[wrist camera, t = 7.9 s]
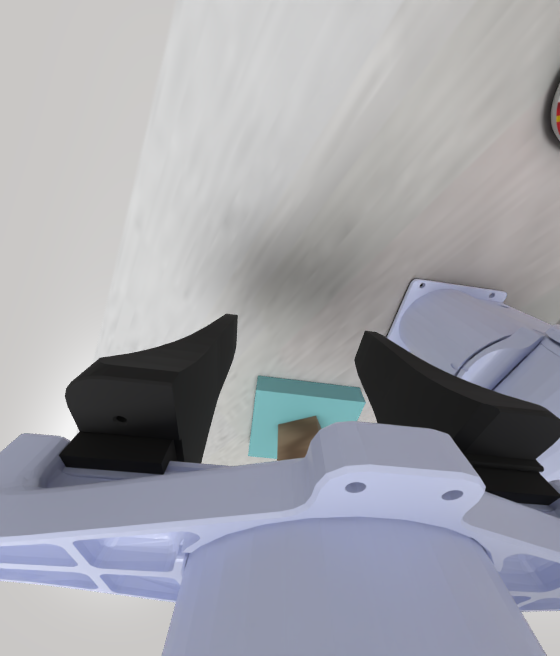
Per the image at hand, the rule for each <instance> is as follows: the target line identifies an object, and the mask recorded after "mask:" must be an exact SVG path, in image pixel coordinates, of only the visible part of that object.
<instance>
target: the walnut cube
mask: <svg viewBox="0 0 560 656" xmlns="http://www.w3.org/2000/svg"><path fill="white" fill-rule="evenodd" d="M319 430H321V426H320V424H319V422H318V419H317V417H316V416H312V417H308V418H304V419H299V420H295V421H291V422H287V423H282V424H278V447H277V461H281V460H289V459H297V458H304V457H305V456H306V454H307V451H308V448H309V445H310V442H311V440H312V439H313V438H314V437H315V435H316V434H317V433H318V431H319Z"/></svg>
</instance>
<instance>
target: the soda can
mask: <svg viewBox="0 0 560 656" xmlns="http://www.w3.org/2000/svg"><path fill="white" fill-rule="evenodd" d="M551 125H552V128H553V131H554V133H555V134H556V136H557V138H558V139H559V141H560V83H559V85H558V88H557V90H556V93H555V96H554V99H553V103H552V108H551Z"/></svg>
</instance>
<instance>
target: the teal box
mask: <svg viewBox="0 0 560 656" xmlns="http://www.w3.org/2000/svg"><path fill="white" fill-rule="evenodd" d="M365 403H366V402H365V400H364V397H363V395H362V393H361V390H360V388H358V387H349V386H341V385H333V384H324V383H316V382H307V381H299V380H291V379H282V378H274V377H265V376H258V381H257V387H256V395H255V403H254V412H253V420H252V428H251V437H250V445H249V453H248V456H253V457H264V458H274V459H277V447H278V424H282V423H287V422H291V421H295V420H299V419H304V418H308V417H312V416H316V417H317V419H318V422H319V424H320V426H321V429H322V428H324V427H327V426H329V425H331V424H333V423H335V422H346V421H357V420H358V418H359V416H360V414H361V411H362V409H363V407H364V405H365Z"/></svg>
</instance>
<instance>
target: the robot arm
mask: <svg viewBox="0 0 560 656" xmlns="http://www.w3.org/2000/svg"><path fill="white" fill-rule="evenodd" d="M422 283H423V285H422V286H421V287H420V284H422ZM491 293H492V294H491ZM490 294H491V295H490ZM489 295H490V296H489ZM506 297H507V293H506V292H503V291H499V290H492V289H485V288H478V287H472V286H465V285H458V284H451V283H444V282H437V281H430V280H423V279H414V280H413V281H412V282H411V283H410V285H409V288H408V290H407V292H406V295H405V297H404V299H403V301H402V304H401V306H400V308H399V311H398V313H397V315H396V317H395V320H394V322H393V324H392V327H391V329H390V331H389V333H388V336H387V338H386V337H384V336H383V335H381V334H379V333H377V332H371V331H365V332H364V335H363V338H362V340H361V343H360V346H359V349H358V351H357V354H356V357H355V359H354V360H355V365H356V369H357V373H358V376H359V378H360V380H361V383H362V385H363V388H364V390H365V392H366V394H367V397H368V399H369V401H370V404H371V406H372V408H373V411H374V413H375V416H376V419H377V423H369V422H358V421H346V422H335V423H333V424H331V425H329V426H327V427H324V428H322V429H321V430H319V431H318V433H317V434H316V435H315V437H314V438H313V439H312V440H311V442H310V445H309V448H308V451H307V454H306V456H305V457H304V458H297V459H289V460H281V461H272V462H264V463H256V464H247V465H239V466H224V465H212V464H201V462H202V457H203V453H204V449H205V445H206V441H207V437H208V433H209V429H210V426H211V422H212V418H213V414H214V411H215V407H216V404H217V400H218V397H219V394H220V391H221V389H222V386H223V384H224V381H225V379H226V376H227V374H228V372H229V369H230V366H231V364H232V361H233V358H234V354H235V350H236V341H237V318H238V315H232V314H225V315H224V316H222V317H220V318H219V319H217V320H216V321H214V322H213V323H211V324H210V325H208V326H206V327H204V328H203V329H201V330H199V331H197V332H195V333H193V334H191V335H189V336H187V337H185V338H182V339H180V340H177V341H175V342H172V343H168V344H165V345H162V346H159V347H156V348H152V349H148V350H144V351H139V352H134V353H129V354H123V355H116V356H110V357H102V358H99V359H98V360H97V361H96V362H95V363H93V364H92V365H91V366H90V367H89V368H87V369H86V370H85V371H84V372H83V373H81V374H80V375H79V376H78V377H77V378H75V379H74V380H73V381H72V382H71V383H70V384H69V385H68V387H67V388H66V393H65V398H66V402H67V405H68V408H69V410H70V412H71V414H72V416H73V418H74V420H75V422H76V424H77V427H78V429H79V431H80V432H79V433H78V434H77V435H76V436H75V437H74V438H73V440H72V441H70V440H68V439H66V438H64V437H60V436H53V435H41V434H30V433H24V434H21V435H19V436H18V437H17V438H16V439H15V440H14V441H13V442H11V443H10V444H9V445H8V446H7V447H6V448H5V449H3V450H2V451H1V452H0V581H8V582H18V583H29V584H40V585H48V586H56V587H64V588H72V589H80V590H87V591H94V592H102V593H109V594H116V595H124V596H131V597H139V598H146V599H153V600H160V601H168V602H175V603H176V604H175V608H174V612H173V615H172V619H171V623H170V627H169V630H168V634H167V638H166V641H165V645H164V649H163V652H162V656H547V655H546V653H545V652H544V650H543V648H542V646H541V645H540V643H539V642H538V640H537V638H536V636H535V635H534V633H533V631H532V630H531V628H530V626H529V624H528V623H527V621H526V619H525V618H524V616H523V614H522V613H521V612H530V611H560V325H559V324H555V325H551V324H549V323H546V322H544V321H542V320H539V319H537V318H535V317H533V316H530V315H528V314H526V313H524V312H521V311H519V310H517V309H515V308H512V307H510V306H508V305H506V304H503V301H504V300H505V298H506ZM410 352H412V353H413V354H414V355H413V354H412V353H410Z"/></svg>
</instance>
